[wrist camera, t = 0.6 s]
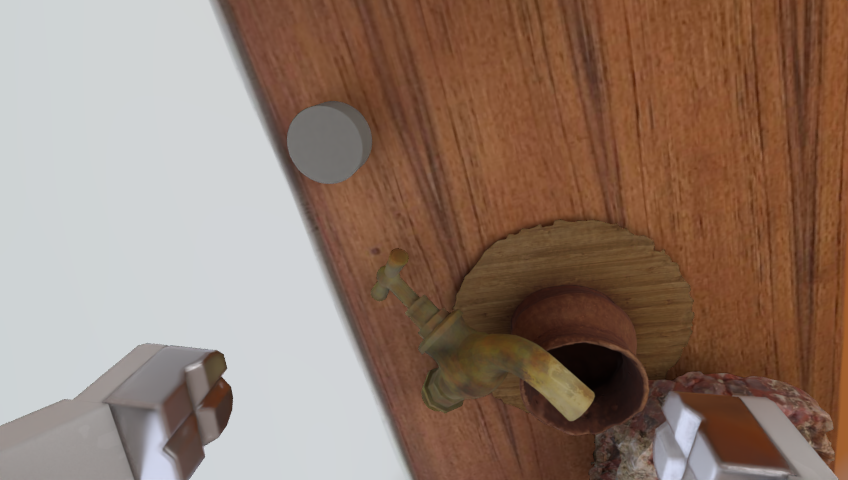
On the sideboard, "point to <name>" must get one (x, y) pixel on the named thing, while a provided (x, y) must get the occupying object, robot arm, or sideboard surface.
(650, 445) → the rock
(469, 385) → the faucet
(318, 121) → the cylinder
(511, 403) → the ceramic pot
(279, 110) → the sideboard surface
